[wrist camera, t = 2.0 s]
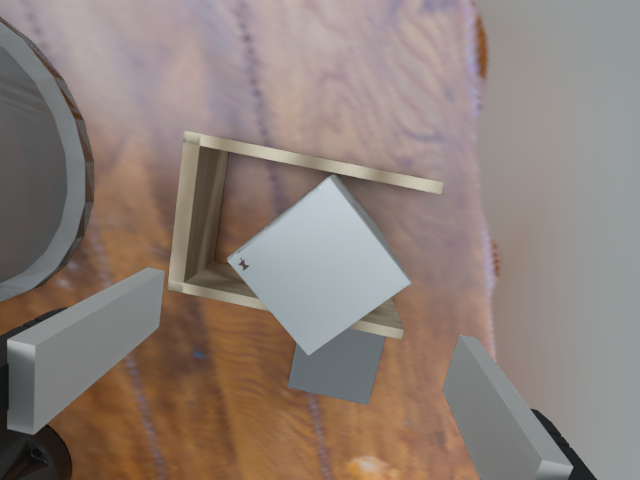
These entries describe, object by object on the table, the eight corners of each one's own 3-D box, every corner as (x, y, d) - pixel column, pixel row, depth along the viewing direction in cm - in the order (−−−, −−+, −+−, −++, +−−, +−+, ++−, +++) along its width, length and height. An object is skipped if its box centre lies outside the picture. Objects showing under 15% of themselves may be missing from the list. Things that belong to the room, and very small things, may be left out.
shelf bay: (200, 266, 42) (167, 289, 34) (216, 137, 39) (184, 130, 31) (391, 306, 41) (401, 339, 34) (423, 179, 38) (443, 182, 30)
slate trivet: (289, 381, 44) (287, 387, 43) (303, 308, 42) (302, 312, 41) (367, 398, 44) (367, 404, 43) (386, 326, 42) (387, 330, 41)
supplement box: (320, 284, 42) (304, 362, 25) (270, 223, 40) (219, 263, 24) (387, 235, 40) (416, 284, 23) (336, 169, 39) (330, 173, 22)
